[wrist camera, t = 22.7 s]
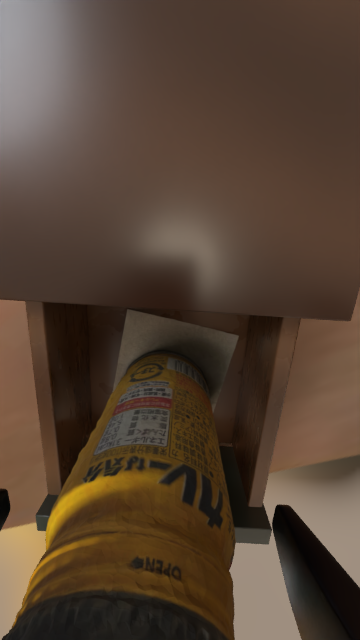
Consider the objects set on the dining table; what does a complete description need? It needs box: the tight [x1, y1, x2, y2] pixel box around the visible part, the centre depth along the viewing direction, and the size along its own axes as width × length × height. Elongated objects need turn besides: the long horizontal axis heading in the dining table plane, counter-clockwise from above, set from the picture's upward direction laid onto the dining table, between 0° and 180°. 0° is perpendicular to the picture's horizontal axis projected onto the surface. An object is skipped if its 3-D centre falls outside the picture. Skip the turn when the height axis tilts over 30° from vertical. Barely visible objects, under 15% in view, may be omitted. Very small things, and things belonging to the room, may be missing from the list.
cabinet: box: [0, 0, 360, 321], centre depth 10 cm, size 17×15×8 cm
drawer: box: [25, 301, 301, 544], centre depth 14 cm, size 20×13×6 cm, turn 176°
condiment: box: [2, 309, 239, 640], centre depth 10 cm, size 7×8×12 cm
